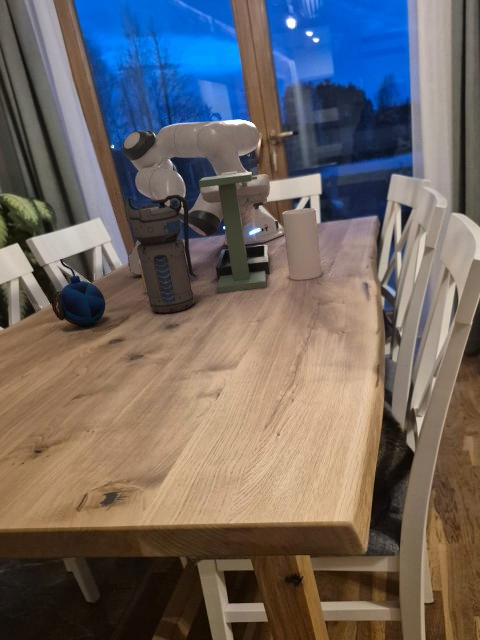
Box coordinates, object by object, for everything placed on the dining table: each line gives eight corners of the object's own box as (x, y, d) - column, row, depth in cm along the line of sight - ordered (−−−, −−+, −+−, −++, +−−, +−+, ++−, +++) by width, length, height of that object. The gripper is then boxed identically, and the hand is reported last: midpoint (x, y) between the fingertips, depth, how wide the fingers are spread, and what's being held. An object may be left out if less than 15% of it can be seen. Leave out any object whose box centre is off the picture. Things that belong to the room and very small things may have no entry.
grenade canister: (205, 309, 130) (183, 192, 119) (146, 317, 129) (119, 200, 118) (205, 297, 139) (185, 188, 129) (150, 306, 138) (125, 196, 128)
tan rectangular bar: (227, 184, 168) (225, 169, 166) (241, 182, 168) (239, 167, 166) (223, 191, 148) (220, 174, 146) (238, 189, 148) (236, 172, 146)
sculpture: (145, 283, 186) (177, 264, 186) (138, 286, 169) (173, 265, 169) (125, 252, 183) (158, 233, 183) (117, 252, 166) (152, 231, 166)
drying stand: (220, 281, 153) (203, 177, 142) (265, 276, 153) (251, 171, 142) (217, 293, 142) (198, 181, 131) (266, 287, 142) (250, 174, 131)
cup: (284, 280, 147) (276, 214, 140) (297, 272, 153) (289, 209, 147) (315, 279, 143) (308, 212, 137) (326, 271, 150) (320, 207, 143)
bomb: (54, 328, 130) (34, 261, 123) (101, 315, 135) (84, 250, 129) (67, 336, 122) (46, 266, 116) (116, 322, 128) (99, 254, 122)
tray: (223, 260, 179) (221, 250, 177) (268, 255, 179) (267, 244, 177) (217, 280, 155) (215, 268, 154) (269, 273, 155) (267, 261, 154)
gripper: (202, 191, 176) (194, 169, 162) (269, 183, 176) (266, 160, 162) (205, 211, 175) (196, 191, 161) (272, 203, 175) (269, 182, 162)
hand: (232, 175), depth 162 cm, fingers closed on tan rectangular bar, 2 cm apart
